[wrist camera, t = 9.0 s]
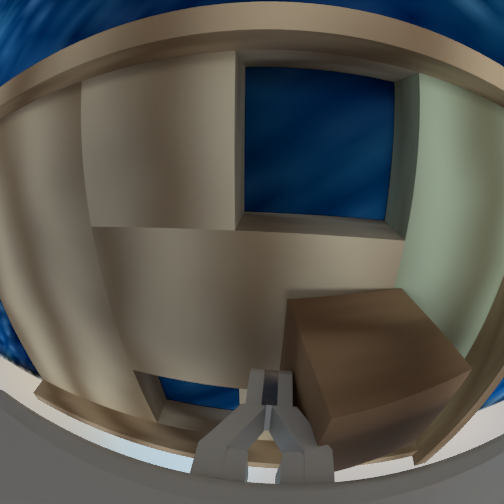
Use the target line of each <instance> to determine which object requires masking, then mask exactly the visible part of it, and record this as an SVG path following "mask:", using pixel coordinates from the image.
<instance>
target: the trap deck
mask: <svg viewBox="0 0 504 504" xmlns="http://www.w3.org/2000/svg"><path fill="white" fill-rule="evenodd" d="M245 67H290V68H306V69H318V70H328V71H336V72H343V73H350V74H356V75H362V76H368V77H373V78H378V79H383V80H387V81H392V82H394V86H395V112H394V139H393V154H392V166H391V176H390V185H389V193H388V201H387V208H386V215H385V221H384V220H373V219H361V218H349V217H336V216H321V215H305V214H288V213H267V212H244V144H245ZM397 288H402V289H403V290H404V291H405V293H406V294H407V295H408V296H409V297H410V298H411V299H412V300H413V301H414V302H415V303H416V304H417V305H418V306H419V307H420V308H421V309H422V310H423V312H424V313H425V314H426V315H427V316H428V317H429V318H430V319H431V320H432V321H433V323H434V324H435V325H436V326H437V327H438V328H439V329H440V330H441V332H442V333H443V334H444V335H445V336H446V337H447V338H448V340H449V341H450V342H451V343H452V344H453V346H454V347H455V348H456V349H457V350H458V352H459V353H460V354H461V355H462V356H463V358H464V359H465V360H466V361H467V363H468V364H469V365H470V366H471V368H472V370H471V372H470V373H469V375H468V376H467V378H466V379H465V381H464V382H463V383H462V385H461V386H460V388H459V389H458V390H457V392H456V393H455V395H454V396H453V397H452V399H451V400H450V401H449V402H448V404H447V405H446V406H445V408H444V409H443V410H442V411H441V412H440V414H439V415H438V416H437V417H436V418H435V420H434V421H433V422H432V423H431V424H430V425H429V426H428V428H427V429H426V430H425V431H424V432H423V433H422V434H421V435H420V436H419V437H418V438H417V440H416V441H415V442H414V443H413V444H412V445H410V446H408V447H405V448H403V449H401V450H398V451H396V452H393V453H391V454H388V455H386V456H383V457H380V458H377V459H375V460H372V461H369V462H366V463H363V464H360V465H364V464H370V463H378V462H383V461H389V460H394V459H399V458H404V457H408V456H413V461H414V465H418V464H422V463H425V462H426V461H427V460H429V459H430V458H431V457H432V456H433V455H434V454H435V453H437V452H438V451H439V450H440V449H441V448H442V447H443V446H444V445H445V444H446V443H447V442H448V441H449V440H451V438H453V436H455V435H456V434H457V432H458V431H459V430H460V429H461V428H462V427H463V426H464V425H465V424H466V423H467V422H468V421H469V420H470V419H471V418H472V416H473V415H474V414H475V413H476V412H477V411H478V410H479V408H480V407H481V406H482V405H483V404H484V402H485V401H486V400H487V399H488V397H489V396H490V395H491V394H492V392H493V391H494V390H495V388H496V387H497V386H498V384H499V383H500V381H501V380H502V379H503V377H504V67H503V66H501V65H500V64H498V63H496V62H495V61H493V60H491V59H489V58H488V57H486V56H484V55H482V54H480V53H479V52H477V51H475V50H473V49H471V48H469V47H467V46H465V45H463V44H461V43H458V42H456V41H454V40H452V39H449V38H447V37H445V36H442V35H440V34H437V33H435V32H432V31H430V30H427V29H424V28H422V27H419V26H416V25H413V24H410V23H407V22H403V21H400V20H397V19H393V18H390V17H386V16H382V15H378V14H374V13H369V12H365V11H360V10H354V9H349V8H343V7H336V6H329V5H321V4H311V3H298V2H240V3H226V4H217V5H208V6H201V7H194V8H188V9H183V10H178V11H173V12H168V13H163V14H159V15H155V16H151V17H147V18H144V19H140V20H137V21H133V22H130V23H127V24H124V25H121V26H118V27H115V28H112V29H109V30H106V31H104V32H101V33H98V34H96V35H93V36H91V37H89V38H86V39H84V40H82V41H79V42H77V43H75V44H73V45H71V46H68V47H66V48H64V49H62V50H60V51H58V52H56V53H54V54H53V55H51V56H49V57H47V58H45V59H43V60H42V61H40V62H38V63H36V64H35V65H33V66H31V67H30V68H28V69H26V70H25V71H23V72H22V73H20V74H19V75H17V76H16V77H14V78H13V79H11V80H10V81H8V82H7V83H5V84H4V85H3V86H1V87H0V299H1V301H2V303H3V306H4V308H5V310H6V313H7V315H8V317H9V319H10V321H11V323H12V326H13V328H14V330H15V332H16V334H17V336H18V337H19V339H20V341H21V343H22V345H23V347H24V349H25V350H26V352H27V354H28V356H29V357H30V359H31V361H32V363H33V364H34V366H35V367H36V369H37V371H38V372H39V374H40V375H41V377H42V378H43V381H42V382H41V383H40V385H39V386H38V387H37V389H36V390H35V392H34V394H35V395H36V397H37V398H38V399H39V400H41V401H42V402H44V403H46V404H47V405H49V406H51V407H53V408H55V409H57V410H59V411H61V412H63V413H65V414H66V415H68V416H70V417H73V418H75V419H77V420H79V421H81V422H83V423H86V424H88V425H90V426H92V427H95V428H97V429H99V430H102V431H104V432H107V433H110V434H112V435H115V436H117V437H120V438H123V439H126V440H129V441H132V442H135V443H138V444H141V445H145V446H148V447H151V448H155V449H158V450H162V451H166V452H170V453H173V454H178V455H182V456H187V457H191V458H194V457H195V453H196V449H197V446H198V442H199V441H200V440H201V439H202V438H204V437H205V436H206V435H207V434H208V433H209V432H211V431H212V430H213V429H214V428H215V427H216V426H217V425H218V424H220V423H221V422H222V421H223V420H224V419H225V418H226V417H227V416H228V415H230V414H231V413H232V412H233V410H225V409H218V408H211V407H204V406H198V405H193V404H187V403H182V402H177V401H172V400H168V399H166V397H165V394H164V391H163V388H162V386H161V383H160V380H159V377H158V376H162V377H167V378H172V379H177V380H182V381H188V382H194V383H200V384H207V385H214V386H222V387H230V388H239V397H240V404H245V403H246V396H247V389H248V383H249V376H250V371H251V369H262V370H278V371H279V369H280V361H281V353H282V344H283V335H284V326H285V316H286V306H287V299H298V298H311V297H322V296H334V295H344V294H354V293H363V292H372V291H381V290H389V289H397ZM247 452H248V466H252V467H265V468H278V467H279V464H280V461H281V458H282V455H283V454H282V453H281V451H280V450H279V448H278V446H277V445H276V443H275V441H274V440H273V438H272V436H271V434H270V433H269V431H268V430H264V432H263V433H262V434H261V435H260V436H259V438H258V439H257V440H256V441H255V442H254V443H253V445H252V446H251V447H250V448H249V449H248V450H247Z"/></svg>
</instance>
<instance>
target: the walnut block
mask: <svg viewBox="0 0 504 504" xmlns="http://www.w3.org/2000/svg"><path fill="white" fill-rule="evenodd" d="M471 370H472V368H471V366H470V365H469V364H468V363H467V361H466V360H465V359H464V358H463V356H462V355H461V354H460V353H459V352H458V350H457V349H456V348H455V347H454V346H453V344H452V343H451V342H450V341H449V340H448V338H447V337H446V336H445V335H444V334H443V333H442V332H441V330H440V329H439V328H438V327H437V326H436V325H435V324H434V323H433V321H432V320H431V319H430V318H429V317H428V316H427V315H426V314H425V313H424V312H423V310H422V309H421V308H420V307H419V306H418V305H417V304H416V303H415V302H414V301H413V300H412V299H411V298H410V297H409V296H408V295H407V294H406V293H405V291H404V290H403V289H402V288H397V289H389V290H381V291H372V292H363V293H354V294H344V295H334V296H322V297H311V298H298V299H287V306H286V316H285V326H284V335H283V344H282V353H281V361H280V369H279V371H292V373H293V407H298V409H299V410H300V411H301V412H302V414H303V415H304V416H305V417H306V419H307V420H308V421H309V422H310V425H311V428H312V431H313V434H314V437H315V440H316V443H317V446H323V445H329V447H330V448H331V449H332V450H333V464H334V472H335V471H338V470H342V469H346V468H349V467H353V466H356V465H360V464H363V463H366V462H369V461H372V460H375V459H377V458H380V457H383V456H386V455H388V454H391V453H393V452H396V451H398V450H401V449H403V448H405V447H408V446H410V445H412V444H413V443H414V442H415V441H416V440H417V438H418V437H419V436H420V435H421V434H422V433H423V432H424V431H425V430H426V429H427V428H428V426H429V425H430V424H431V423H432V422H433V421H434V420H435V418H436V417H437V416H438V415H439V414H440V412H441V411H442V410H443V409H444V408H445V406H446V405H447V404H448V402H449V401H450V400H451V399H452V397H453V396H454V395H455V393H456V392H457V390H458V389H459V388H460V386H461V385H462V383H463V382H464V381H465V379H466V378H467V376H468V375H469V373H470V372H471Z"/></svg>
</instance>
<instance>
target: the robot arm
mask: <svg viewBox="0 0 504 504" xmlns="http://www.w3.org/2000/svg"><path fill="white" fill-rule="evenodd" d="M264 430H268V431H269V433H270V434H271V436H272V438H273V440H274V441H275V443H276V445H277V446H278V448H279V450H280V451H281V453H282V454H283V455H282V458H281V461H280V464H279V467H278V471H277V474H276V479H275V484H265V483H251V482H247V479H248V452H247V450H248V449H249V448H250V447H251V446H252V445H253V443H254V442H255V441H256V440H257V439H258V438H259V436H260V435H261V434H262V433H263V432H264ZM0 504H504V434H503V435H501V436H499V437H497V438H495V439H493V440H491V441H489V442H487V443H484V444H482V445H480V446H478V447H476V448H473V449H471V450H468V451H466V452H463V453H461V454H458V455H456V456H453V457H450V458H447V459H444V460H442V461H439V462H435V463H433V464H429V465H426V466H422V467H419V468H415V469H411V470H407V471H403V472H399V473H395V474H390V475H385V476H379V477H374V478H367V479H361V480H354V481H345V482H334V464H333V450H332V449H331V448H330V447H329V445H323V446H317V443H316V440H315V437H314V434H313V431H312V428H311V425H310V422H309V421H308V420H307V419H306V417H305V416H304V415H303V414H302V412H301V411H300V410H299V409H298V407H293V373H292V371H278V370H262V369H251V371H250V376H249V383H248V389H247V396H246V403H245V404H240V405H239V406H238V407H237V408H236V409H235V410H234V411H233V412H232V413H231V414H230V415H228V416H227V417H226V418H225V419H224V420H223V421H222V422H221V423H220V424H218V425H217V426H216V427H215V428H214V429H213V430H212V431H211V432H209V433H208V434H207V435H206V436H205V437H204V438H202V439H201V440H200V441H199V442H198V446H197V449H196V453H195V457H194V460H193V464H192V468H191V472H190V474H189V473H185V472H180V471H176V470H172V469H168V468H164V467H160V466H157V465H153V464H150V463H146V462H143V461H140V460H137V459H134V458H131V457H128V456H125V455H122V454H120V453H117V452H114V451H111V450H109V449H107V448H104V447H102V446H100V445H97V444H95V443H92V442H90V441H88V440H86V439H83V438H82V437H79V436H77V435H75V434H73V433H71V432H69V431H67V430H65V429H63V428H62V427H60V426H58V425H56V424H54V423H52V422H51V421H49V420H47V419H45V418H43V417H42V416H40V415H39V414H37V413H35V412H34V411H32V410H30V409H29V408H27V407H26V406H24V405H23V404H21V403H20V402H18V401H17V400H15V399H14V398H13V397H11V396H10V395H8V394H7V393H5V392H4V391H2V390H0Z"/></svg>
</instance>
